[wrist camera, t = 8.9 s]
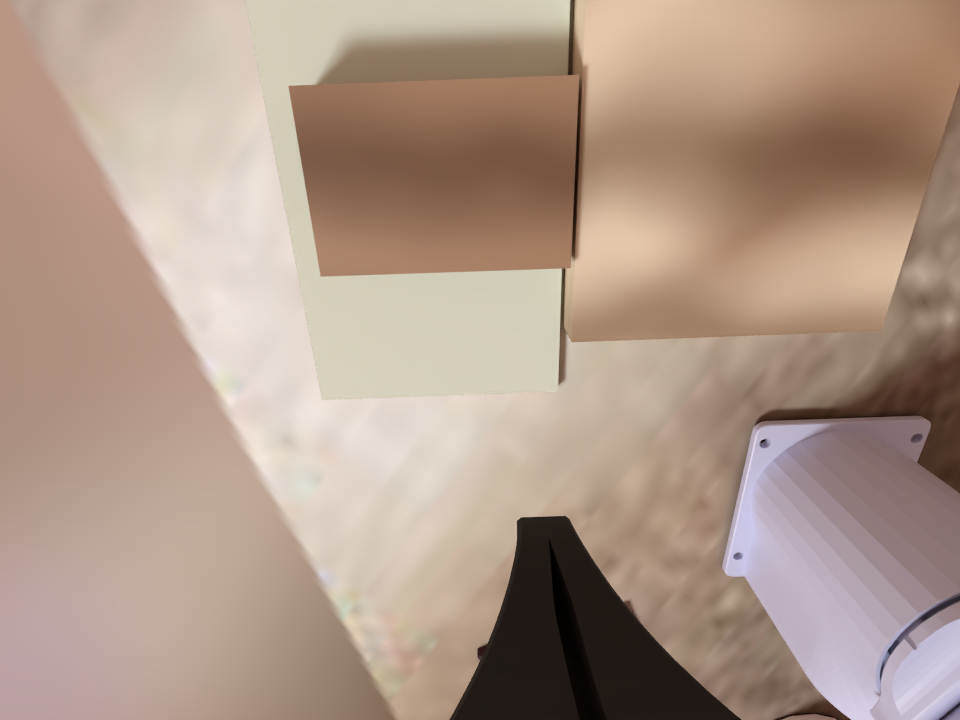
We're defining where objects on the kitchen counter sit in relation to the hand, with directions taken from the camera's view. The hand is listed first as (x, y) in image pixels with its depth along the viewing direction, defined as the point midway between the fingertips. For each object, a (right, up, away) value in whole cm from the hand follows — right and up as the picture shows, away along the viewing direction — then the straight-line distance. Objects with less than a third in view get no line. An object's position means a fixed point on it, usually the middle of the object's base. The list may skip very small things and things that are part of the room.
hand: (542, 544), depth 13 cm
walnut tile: (-3, +12, +5) cm, 13 cm away
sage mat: (-4, +12, +5) cm, 13 cm away
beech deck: (+8, +12, +5) cm, 15 cm away
